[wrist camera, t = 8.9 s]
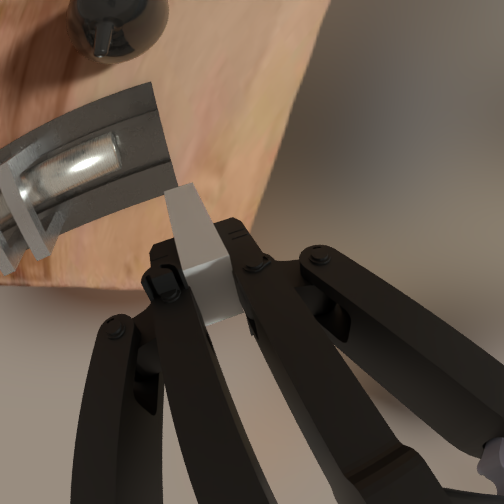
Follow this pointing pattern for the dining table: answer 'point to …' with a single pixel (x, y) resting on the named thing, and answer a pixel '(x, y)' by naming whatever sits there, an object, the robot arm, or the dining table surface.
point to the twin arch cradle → (91, 193)
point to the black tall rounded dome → (115, 28)
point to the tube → (68, 171)
